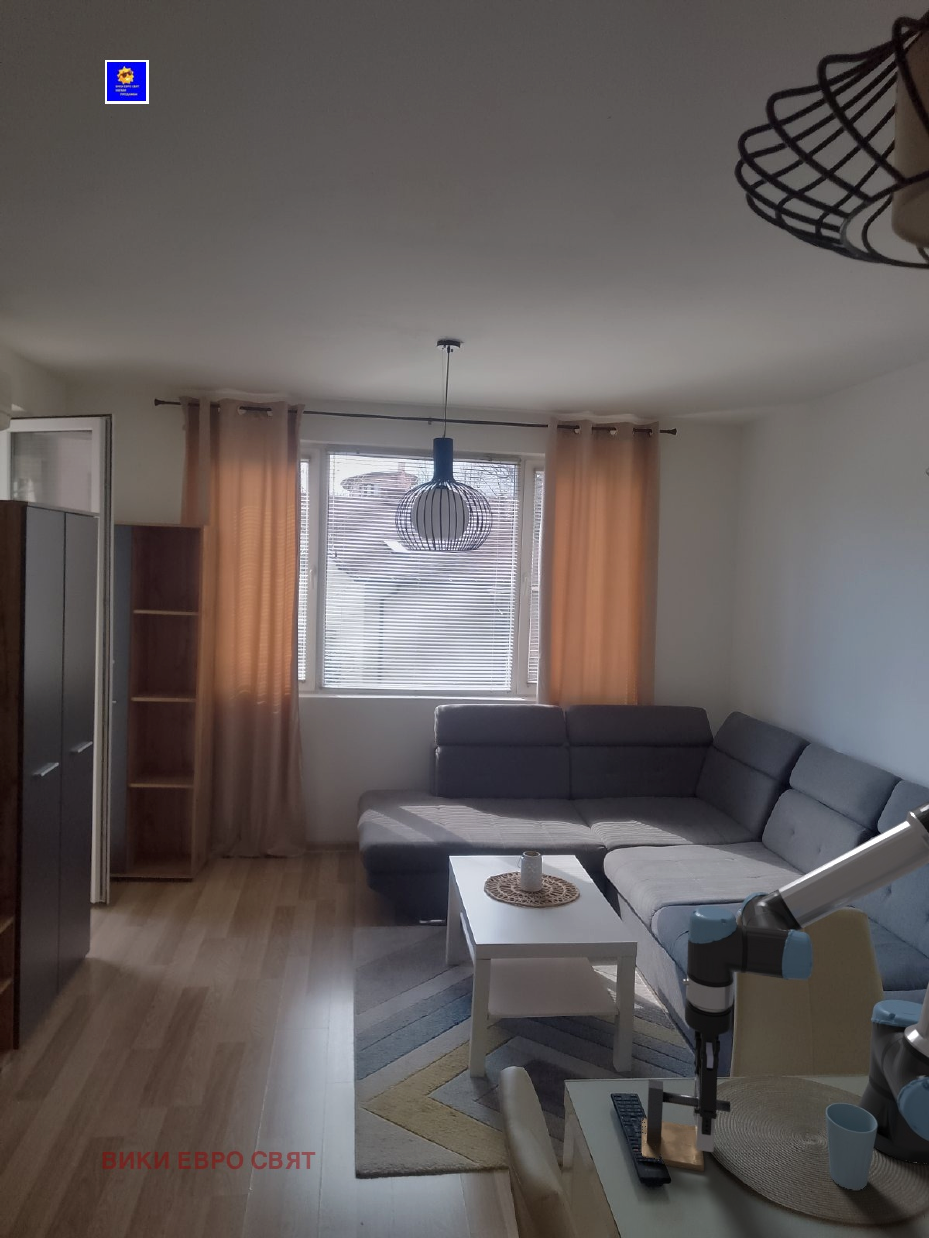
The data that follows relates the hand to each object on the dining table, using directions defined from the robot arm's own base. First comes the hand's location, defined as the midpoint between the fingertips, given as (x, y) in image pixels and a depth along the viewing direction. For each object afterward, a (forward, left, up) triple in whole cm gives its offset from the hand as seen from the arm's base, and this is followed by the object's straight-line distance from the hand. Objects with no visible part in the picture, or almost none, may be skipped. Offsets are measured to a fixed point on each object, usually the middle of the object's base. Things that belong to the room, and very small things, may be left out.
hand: (702, 1131), depth 145 cm
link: (0, 0, 0) cm, 0 cm away
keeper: (+3, 0, -3) cm, 4 cm away
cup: (-23, +1, -4) cm, 23 cm away
